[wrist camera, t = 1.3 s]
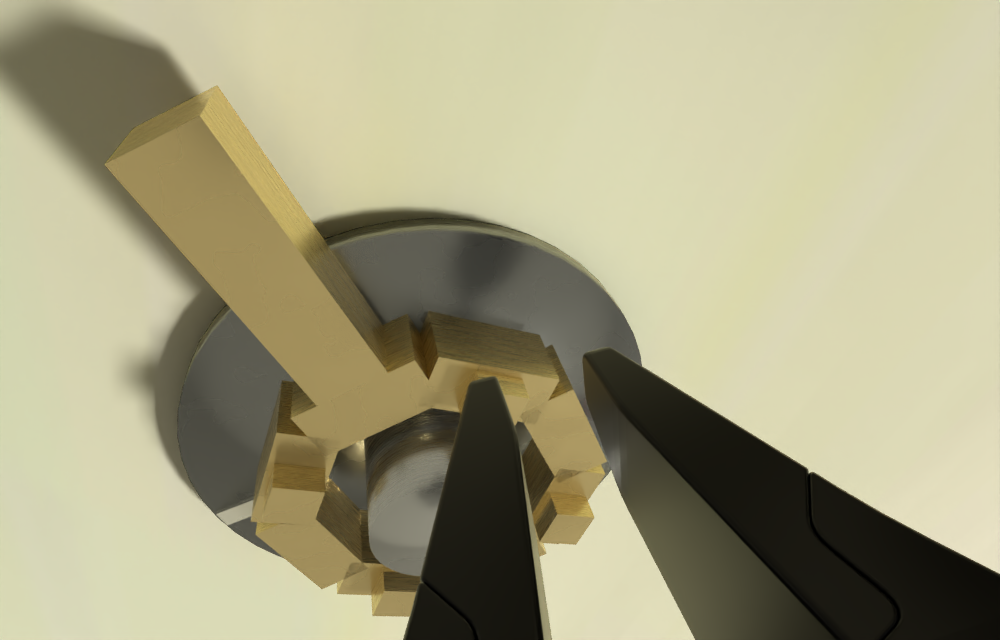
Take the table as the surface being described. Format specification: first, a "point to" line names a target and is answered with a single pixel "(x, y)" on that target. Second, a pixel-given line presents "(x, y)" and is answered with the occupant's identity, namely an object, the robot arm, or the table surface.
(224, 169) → the wooden gear crank
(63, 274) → the table surface
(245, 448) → the cap plate
